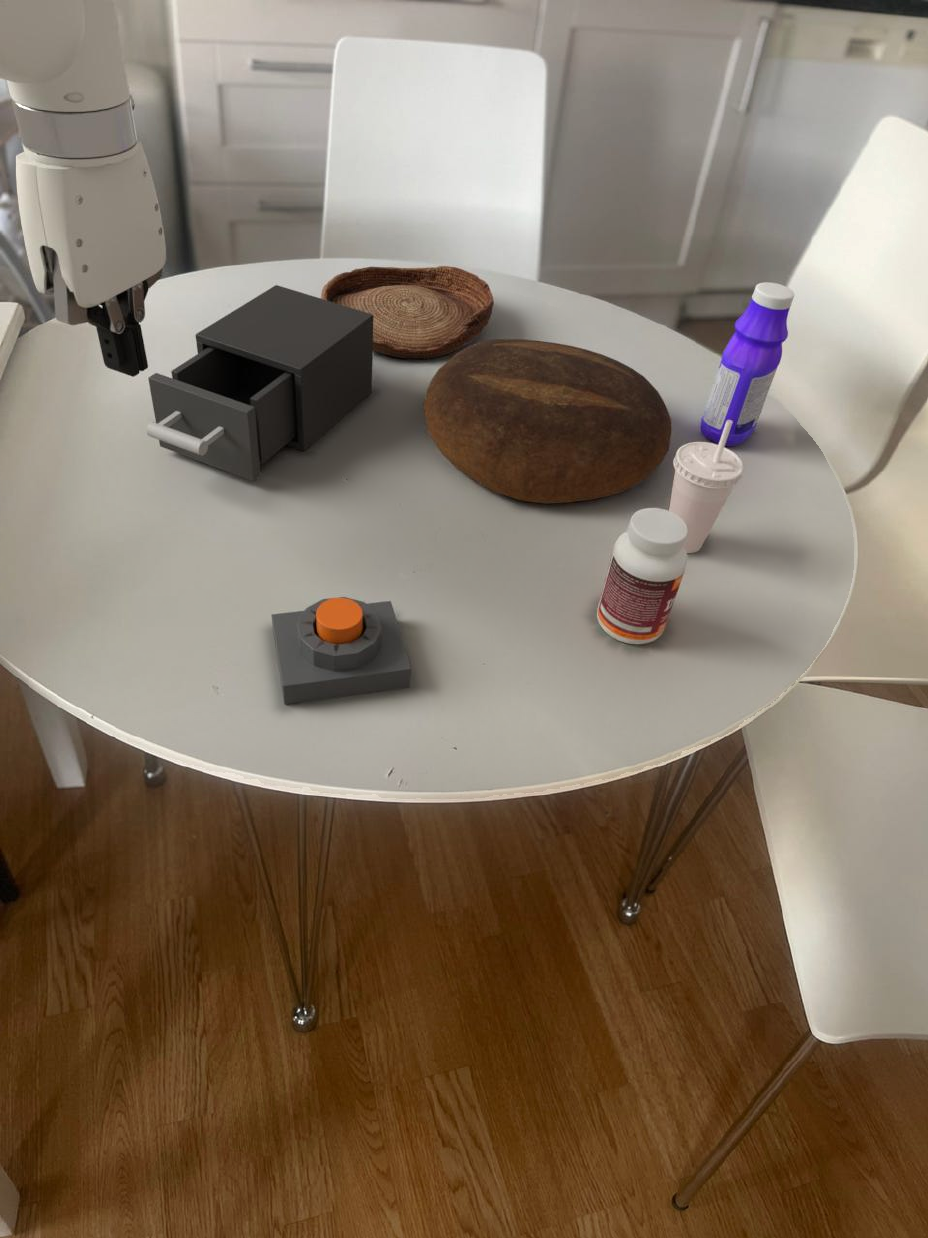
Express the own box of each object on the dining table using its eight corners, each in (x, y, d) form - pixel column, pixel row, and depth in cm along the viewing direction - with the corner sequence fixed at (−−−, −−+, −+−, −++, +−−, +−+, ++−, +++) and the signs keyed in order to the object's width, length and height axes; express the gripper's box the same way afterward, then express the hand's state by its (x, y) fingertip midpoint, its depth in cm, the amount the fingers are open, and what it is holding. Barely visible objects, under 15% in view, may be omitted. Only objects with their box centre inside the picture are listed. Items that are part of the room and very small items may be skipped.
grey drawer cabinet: (304, 451, 94) (300, 369, 87) (205, 416, 97) (195, 334, 90) (372, 392, 104) (373, 314, 97) (280, 362, 107) (276, 284, 100)
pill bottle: (668, 650, 77) (703, 553, 69) (597, 643, 77) (625, 545, 69) (659, 602, 82) (691, 505, 74) (593, 595, 81) (618, 498, 74)
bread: (653, 537, 88) (676, 464, 82) (391, 480, 91) (394, 406, 85) (671, 399, 109) (690, 332, 103) (457, 356, 112) (463, 288, 106)
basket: (347, 372, 106) (347, 333, 103) (300, 299, 119) (298, 263, 116) (514, 351, 114) (519, 314, 111) (453, 285, 127) (456, 250, 123)
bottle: (718, 413, 107) (765, 271, 95) (760, 432, 105) (814, 289, 93) (689, 435, 103) (734, 289, 91) (732, 455, 101) (784, 309, 89)
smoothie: (697, 571, 85) (741, 447, 76) (639, 542, 88) (675, 418, 78) (725, 540, 89) (771, 419, 79) (669, 513, 92) (707, 392, 82)
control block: (284, 705, 69) (281, 670, 66) (273, 633, 74) (270, 598, 72) (409, 687, 71) (412, 653, 69) (390, 619, 77) (391, 584, 74)
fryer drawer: (228, 503, 85) (220, 433, 79) (132, 466, 88) (117, 396, 82) (325, 420, 97) (324, 354, 91) (238, 389, 100) (231, 324, 94)
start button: (320, 647, 69) (319, 631, 67) (313, 616, 71) (313, 600, 70) (366, 642, 70) (366, 626, 68) (358, 610, 72) (358, 595, 71)
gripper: (108, 91, 67) (149, 321, 80) (-53, 141, 57) (24, 395, 70) (191, 112, 65) (219, 344, 78) (39, 168, 55) (100, 423, 68)
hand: (126, 367), depth 74 cm, fingers closed
